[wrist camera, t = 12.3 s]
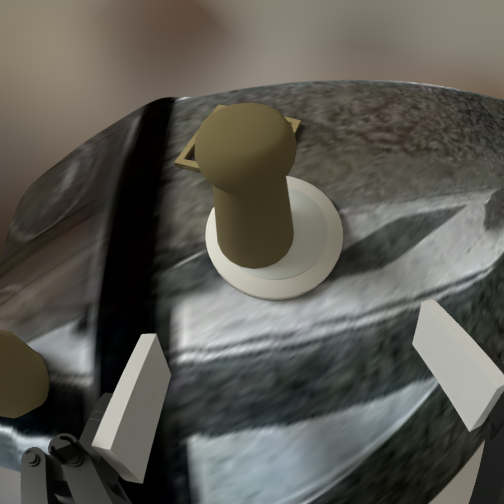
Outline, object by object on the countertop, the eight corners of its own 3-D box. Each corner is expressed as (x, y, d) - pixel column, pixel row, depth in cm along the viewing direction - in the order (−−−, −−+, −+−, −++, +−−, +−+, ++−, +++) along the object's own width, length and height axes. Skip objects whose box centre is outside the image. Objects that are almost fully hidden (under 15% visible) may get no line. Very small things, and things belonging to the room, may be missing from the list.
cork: (203, 224, 23) (161, 118, 13) (265, 189, 24) (259, 77, 14) (242, 284, 21) (216, 191, 11) (309, 241, 22) (334, 132, 12)
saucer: (352, 203, 24) (355, 196, 23) (317, 320, 20) (320, 317, 19) (240, 169, 27) (238, 161, 25) (185, 270, 23) (181, 265, 22)
